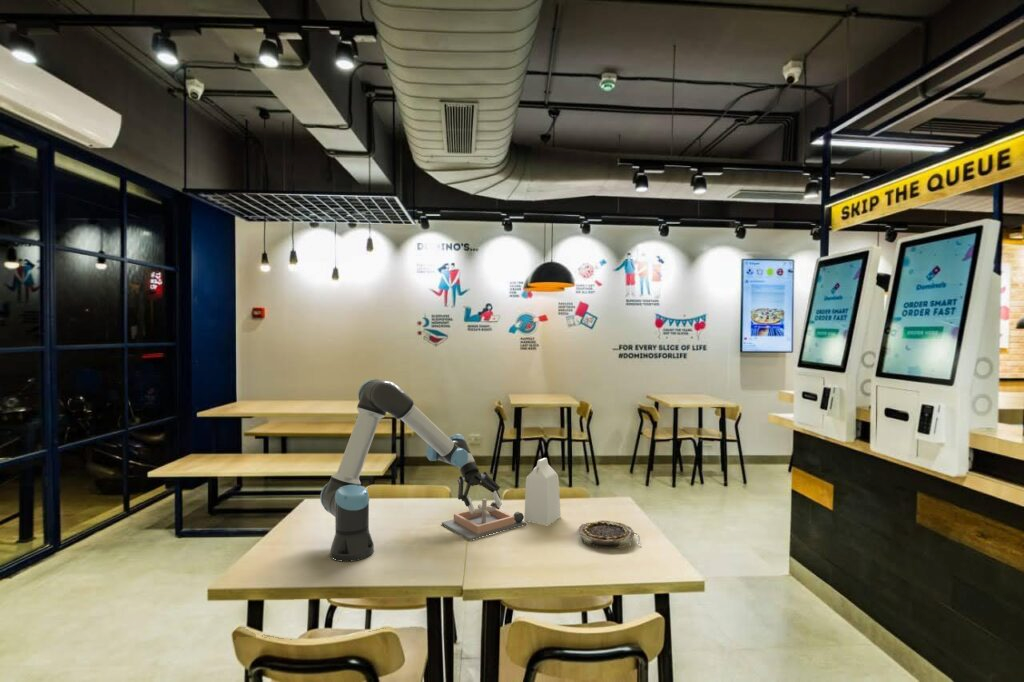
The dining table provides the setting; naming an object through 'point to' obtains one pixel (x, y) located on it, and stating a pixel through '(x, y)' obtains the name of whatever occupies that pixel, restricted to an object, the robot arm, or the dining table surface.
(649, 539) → the dining table surface
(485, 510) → the pipe connector
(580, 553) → the dining table surface
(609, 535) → the pie
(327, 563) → the dining table surface
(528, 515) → the milk
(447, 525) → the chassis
